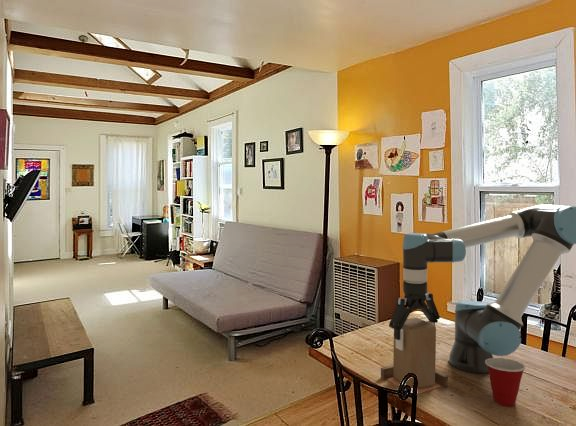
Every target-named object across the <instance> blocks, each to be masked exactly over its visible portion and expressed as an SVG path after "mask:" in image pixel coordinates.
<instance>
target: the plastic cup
mask: <svg viewBox="0 0 576 426" xmlns="http://www.w3.org/2000/svg"><path fill="white" fill-rule="evenodd" d="M485 363H486V365H487V368H488V372H489V373H488V375H489V376H488V377H489V381H490V388H491V392H492V398H493V401H494V403H496V404H498V405H500V406H503V405H504V407H513V405H514V406H516V402H517V397H518V394H519V389H520V386H521V385H520V384H521V381H522V378H523V374H524V371H526V365H525V364H523V362H520V361H518V360H514V359H510V358H503V357H493V358H489V359H486V360H485Z"/></svg>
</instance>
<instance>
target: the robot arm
mask: <svg viewBox="0 0 576 426" xmlns="http://www.w3.org/2000/svg"><path fill="white" fill-rule="evenodd" d="M526 237H531V239H532V243H531V244H530V246H529V247H528V249H527V251H526V252H525V254H524V256H522V259H521V260H520V262H519V264H518V265H517V266H516V268H515V269H514V271H513V273H512V274H511V276H510V278H509V279H508V281H507V282H506V284H505V285H504V287H503V288H502V291H501V292H499V293H500V294H499V295H498V296H497V298H496V300H495V301H494V302H490V303H488V302H484V301H479V300H478V301H476V300H461V301H458V302H457V303H456V304H455V307H454V309H455V310H454V342H453V344H452V348H451V350H450V353H449V357H448V358H449V360H448V361H449V364H451V366H452V367H454V368H456V369H458V370H461V371H463V372H466V373H467V372H468V373H473V374H487V373H488V374H489V372H488V368H487V365H486V363H485V360H486V359H489V358H494V356H497V357H505V356H509V355H511V354H513V353H514V352H516V351H517V349H518V348H519V347H520V345H521V344H522V343H521V342H522V337H521V336H522V334H521V332H520V330H521V328H522V327H523V326H524V323H523V321H522V316H523V315H524V313H525V312H526V310H527V308H528V307H529V305H530V304H531V302H532V300H533V299H534V297H535V296H536V294H537V293H538V291H540V288H541V287H542V285H543V283H544V282H545V280H546V278H547V277H548V275H549V274H550V272H551V271H552V269H553V268H554V265H556V263H557V261H558V259H559V258H560V257H561V255H564V254H568V253H570V251H571V249H572V248H573V247H574V245H576V206H573V205H571V204H570V205H568V204H564V205H562V204H561V205H560V204H559V205H558V204H547V203H545V204H538V205H533V206H530V207H525V208H522V209H518V210H515V211H511V212H510V213H508V214H507V216H502V217H497V218H494V219H490V220H489V219H488V220H486V221H481V222H477V223H473V224H469V225H465V226H464V225H463V226H461V227H456V228H452V229H447V230H444V231H440V232H435V233H421V232H410V233H405V234H404V235H403V240H402V265H403V266H402V279H403V282H402V291H403V293H404V297H402V298H401V297H397V298H396V304H395V306H394V310H393V312H392V314H391V319H390V321H389V324H388V327H389V328H390V329H393V339H394V338H395V339H396V348H397V349H399V350H401V351H402V350H403V330H402V327H403V325H404V323H405V321H406V320H407V319H409V316H410V315H411V313H413V311H417V310H420V311H422V313H423V315H424V316H425V317H426V319H427V320H426V322H428V323H430V324H432V325H434V326H435V327H436V324H437V323H438V322H439V320H440V319H441V316H440V314H439V311H438V308H437V306H436V303H435V301H434V294H433V293H431V292H428V282H427V281H428V263H430V264H431V263H458V262H459V263H461V262H462V261H464V260H465V257H466V255H467V248H470V247H475V246H479V245H483V244H488V243H492V242H497V241H501V240H504V239H509V238H516V239H521V238H526ZM398 325H399V326H398Z"/></svg>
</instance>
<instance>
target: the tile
mask: <svg viewBox="0 0 576 426" xmlns="http://www.w3.org/2000/svg"><path fill="white" fill-rule="evenodd" d="M386 381H389V382H390V383H392V384H394V385H395V386H397V387H399V384H400V382H399V381H397V380H396V379H395V378H394V377H391V378H388V379H386ZM440 387H442V386H441V385H439V384H437V383H435V385H433V386H429V387H424V388H419V389H418V394H417V395H419V394H421V393H422V394H423V393H425V392H429V391H432V390H435V389H437V388H440Z"/></svg>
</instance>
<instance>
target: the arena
mask: <svg viewBox="0 0 576 426" xmlns="http://www.w3.org/2000/svg"><path fill="white" fill-rule="evenodd" d="M392 377H394V376H393V364H390V365H385V366H383V367H380V378H381V379H382V380H387V379H388V378H392ZM448 380H449V375H447V374H445V373H443V372H440V371H439V370H437V369H435V383H437V384H439V385H441V387H442V388H447V387H448V386H449V385H448V383H449V381H448Z"/></svg>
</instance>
